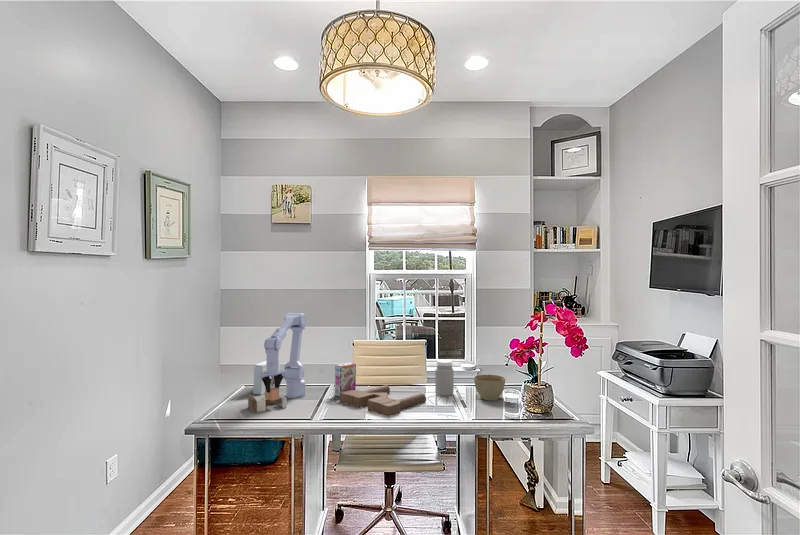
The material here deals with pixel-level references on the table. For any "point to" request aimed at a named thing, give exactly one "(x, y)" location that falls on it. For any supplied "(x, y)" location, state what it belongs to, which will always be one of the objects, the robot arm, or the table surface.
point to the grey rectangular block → (283, 401)
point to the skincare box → (258, 383)
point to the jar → (444, 378)
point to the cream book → (260, 404)
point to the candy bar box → (345, 378)
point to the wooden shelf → (253, 403)
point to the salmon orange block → (272, 394)
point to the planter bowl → (489, 386)
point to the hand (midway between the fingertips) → (272, 391)
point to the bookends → (380, 400)
